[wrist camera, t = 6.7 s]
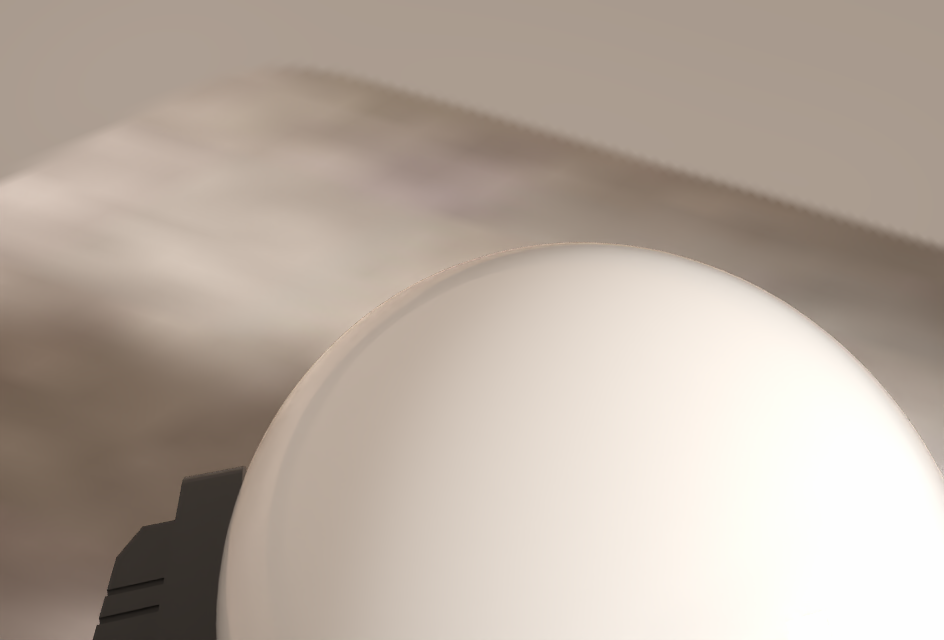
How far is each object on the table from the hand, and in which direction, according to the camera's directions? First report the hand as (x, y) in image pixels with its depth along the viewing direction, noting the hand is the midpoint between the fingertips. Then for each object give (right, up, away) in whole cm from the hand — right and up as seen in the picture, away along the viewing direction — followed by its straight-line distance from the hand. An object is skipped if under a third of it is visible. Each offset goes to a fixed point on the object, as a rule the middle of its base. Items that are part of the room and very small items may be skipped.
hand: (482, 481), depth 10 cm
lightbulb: (0, -4, +4) cm, 5 cm away
